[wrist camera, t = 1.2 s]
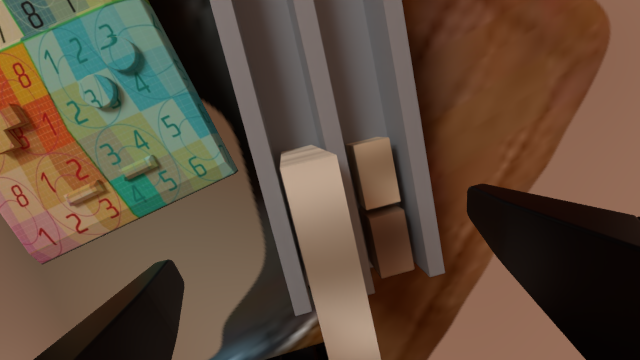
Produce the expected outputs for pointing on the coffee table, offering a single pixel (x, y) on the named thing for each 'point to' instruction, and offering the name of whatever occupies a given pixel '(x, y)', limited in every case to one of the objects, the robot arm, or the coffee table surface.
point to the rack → (328, 109)
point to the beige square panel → (329, 252)
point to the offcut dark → (387, 239)
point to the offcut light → (373, 172)
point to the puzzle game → (95, 122)
